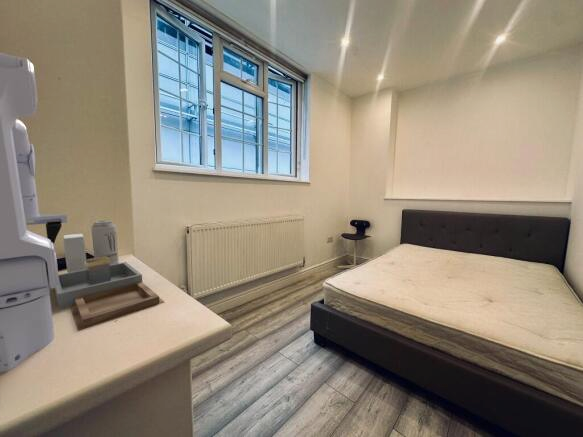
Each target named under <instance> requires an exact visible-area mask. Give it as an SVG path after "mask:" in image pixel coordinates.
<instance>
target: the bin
mask: <svg viewBox="0 0 583 437" xmlns="http://www.w3.org/2000/svg"><path fill="white" fill-rule="evenodd" d="M110 275H111V281H108V282H104V283H99V284H95V285H90V286H87V277H86V270H80V271H75V272H70V273H68V272H66V273H61V274H60V273H58V276H59V284H58V285H56V287H55V288H53V289H54V292H55V296H56V301H57V306H58V309H62V308H67V307H70V305H73V304H75V298H77V297H81V296H85V295H89V294H93V293H97V292H101V291H105V290H109V289H113V288H117V287H122V286H126V285H130V284H134V283H138V282H143V274H141V272H139V271H138V270H136V269H135V268H134V267H133V266H131V265H130V264H129V263H127V262H126V261H124V262H119V263H118V264H112V265H110Z"/></svg>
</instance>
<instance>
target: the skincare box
mask: <svg viewBox="0 0 583 437" xmlns="http://www.w3.org/2000/svg"><path fill="white" fill-rule="evenodd" d="M62 237H63V238H62V239H63V246H64V255H65V263H66V265H65V266H66V270H67V271H66V273H70V272H75V271H80V270H86V267H85V264H84V260H86V259H87V254H86V252H87V251H86V244H85V237H84V234H83V233H76V234H75V233H72V234H66V235H65V234H64V235H63V236H62Z"/></svg>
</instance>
